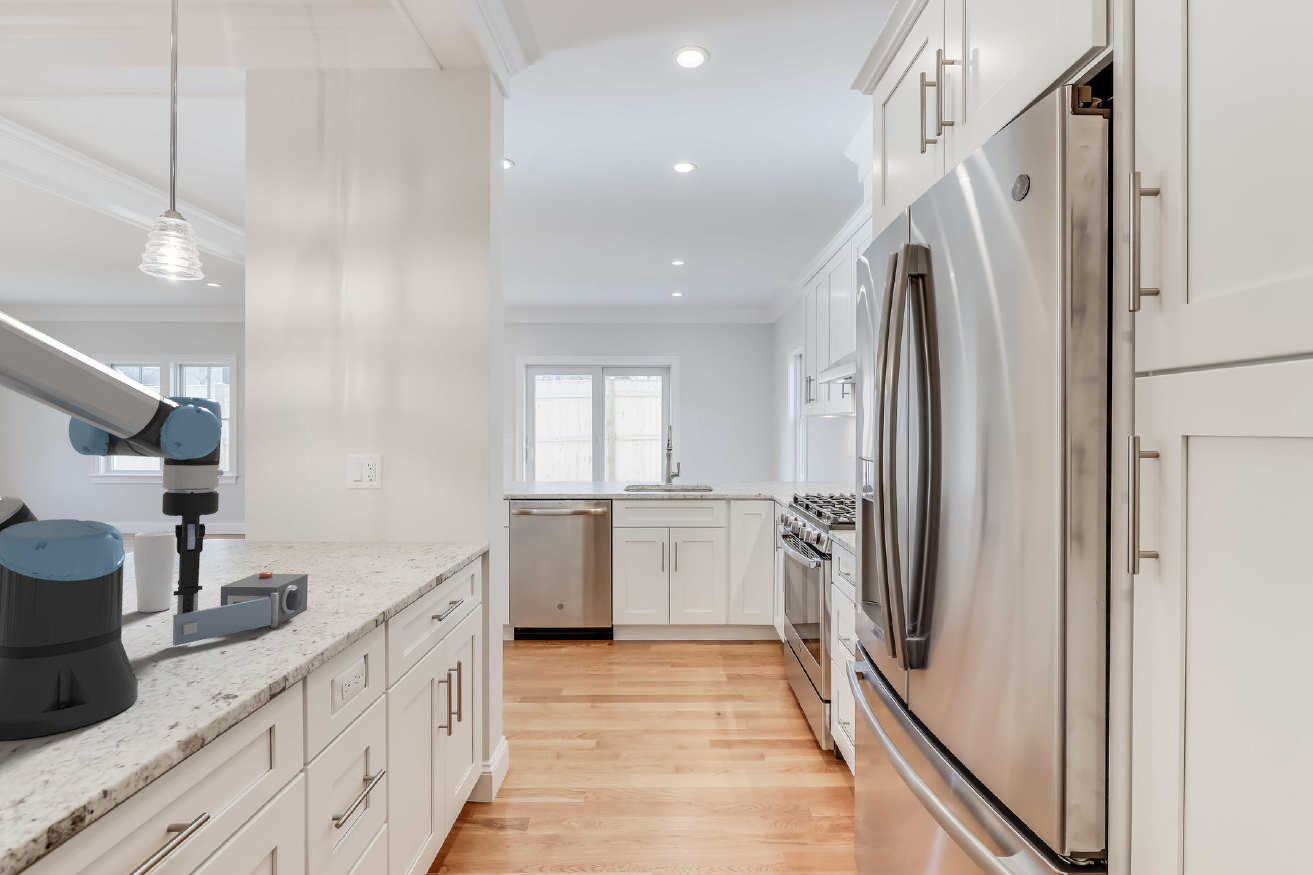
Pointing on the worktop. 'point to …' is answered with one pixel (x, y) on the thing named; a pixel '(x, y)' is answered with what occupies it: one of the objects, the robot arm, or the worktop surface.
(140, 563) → the drinking glass
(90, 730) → the worktop surface
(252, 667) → the worktop surface
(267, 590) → the camera box
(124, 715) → the worktop surface
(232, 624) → the side door
